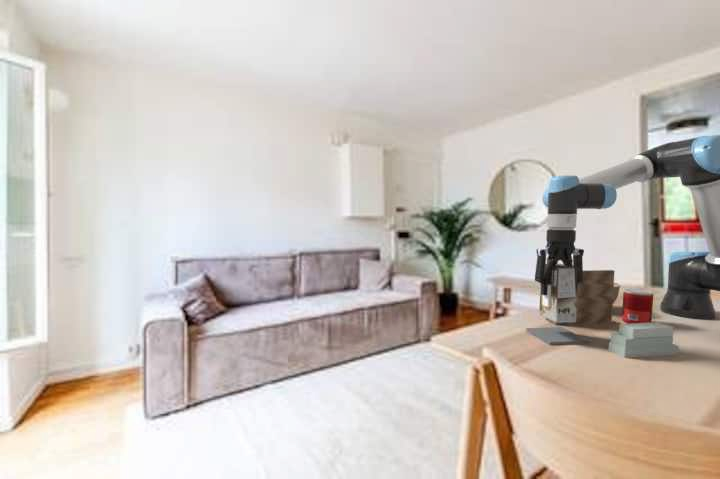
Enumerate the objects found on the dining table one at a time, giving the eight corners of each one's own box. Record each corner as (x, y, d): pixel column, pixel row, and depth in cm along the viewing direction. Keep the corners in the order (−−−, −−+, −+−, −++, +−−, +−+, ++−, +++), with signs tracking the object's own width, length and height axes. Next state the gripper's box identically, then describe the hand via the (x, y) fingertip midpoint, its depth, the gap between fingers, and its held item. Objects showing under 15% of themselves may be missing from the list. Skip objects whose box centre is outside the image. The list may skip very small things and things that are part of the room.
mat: (561, 329, 115) (561, 326, 115) (589, 343, 103) (589, 340, 103) (526, 330, 113) (526, 328, 113) (549, 344, 101) (550, 342, 101)
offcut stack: (659, 347, 100) (661, 321, 99) (677, 354, 95) (680, 327, 94) (608, 350, 98) (610, 324, 97) (624, 358, 93) (626, 330, 92)
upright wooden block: (598, 318, 126) (601, 267, 125) (611, 323, 121) (614, 270, 119) (545, 319, 124) (547, 268, 123) (555, 325, 119) (558, 271, 117)
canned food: (656, 327, 117) (658, 294, 116) (628, 325, 119) (631, 292, 118) (642, 319, 125) (645, 288, 124) (617, 318, 126) (619, 287, 125)
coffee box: (577, 322, 103) (580, 267, 102) (556, 323, 103) (559, 268, 101) (557, 313, 112) (559, 263, 111) (537, 314, 112) (540, 263, 110)
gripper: (537, 229, 101) (534, 309, 103) (601, 229, 103) (596, 308, 104) (522, 228, 108) (519, 303, 110) (582, 228, 110) (578, 301, 112)
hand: (557, 305), depth 107 cm, fingers closed on coffee box, 6 cm apart
